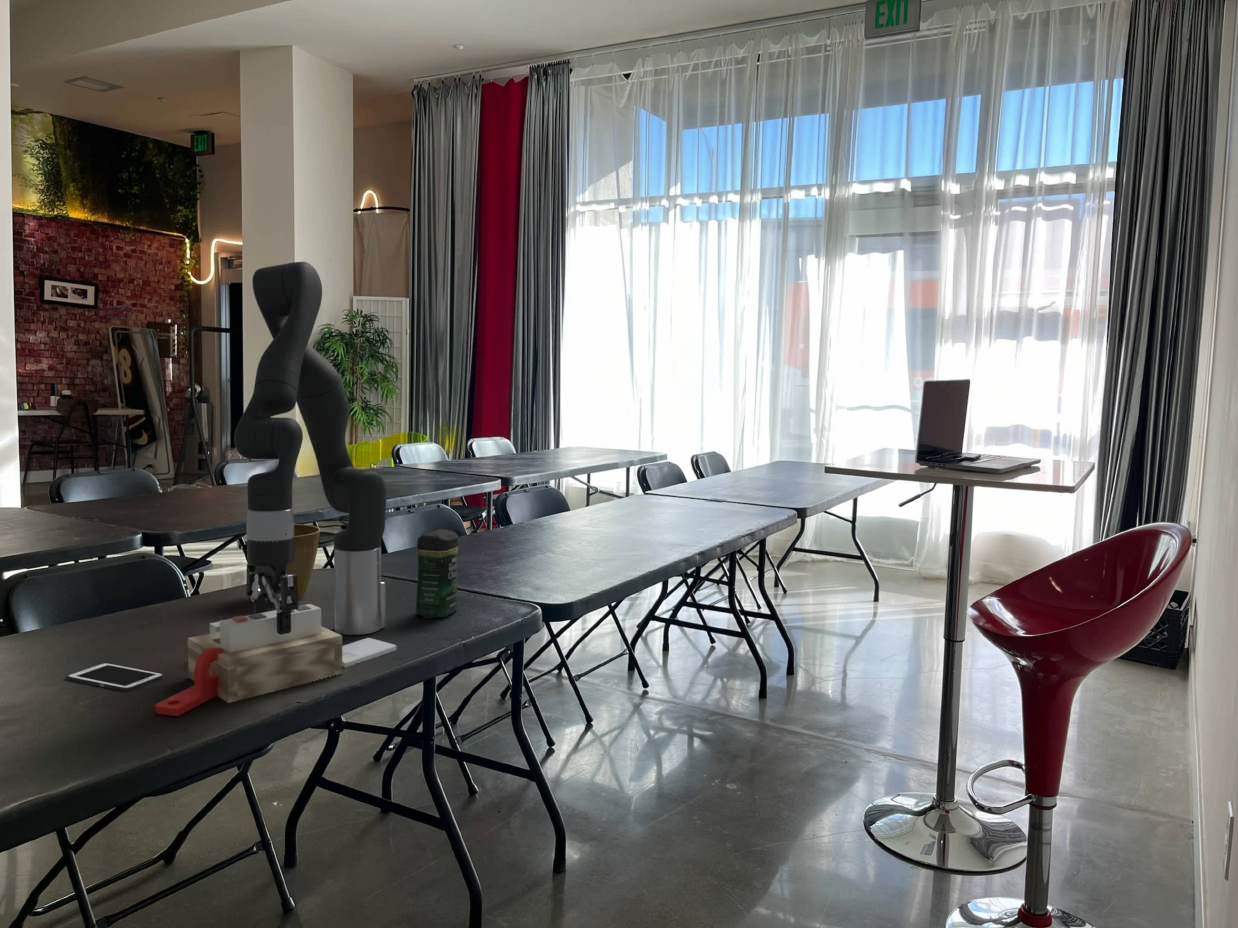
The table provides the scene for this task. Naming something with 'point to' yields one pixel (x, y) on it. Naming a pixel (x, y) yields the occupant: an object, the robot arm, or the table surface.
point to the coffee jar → (437, 574)
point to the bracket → (194, 687)
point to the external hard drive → (364, 651)
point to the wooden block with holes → (269, 664)
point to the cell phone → (115, 677)
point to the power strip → (267, 628)
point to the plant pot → (304, 555)
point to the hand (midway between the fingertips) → (272, 627)
